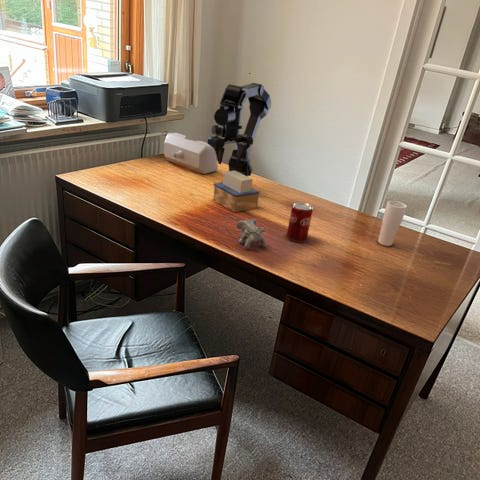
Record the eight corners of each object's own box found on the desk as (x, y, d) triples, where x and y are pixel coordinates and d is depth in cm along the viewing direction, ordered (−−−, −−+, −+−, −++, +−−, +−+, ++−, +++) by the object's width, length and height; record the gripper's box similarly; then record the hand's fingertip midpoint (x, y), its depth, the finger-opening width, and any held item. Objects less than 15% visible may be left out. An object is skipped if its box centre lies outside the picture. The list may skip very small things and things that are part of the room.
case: (222, 183, 187) (223, 171, 185) (233, 182, 191) (234, 170, 188) (240, 193, 181) (241, 180, 178) (251, 191, 184) (252, 179, 181)
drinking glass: (384, 248, 170) (396, 208, 161) (371, 240, 175) (383, 201, 166) (398, 246, 173) (411, 207, 164) (385, 238, 177) (397, 199, 169)
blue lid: (213, 185, 187) (213, 183, 187) (236, 181, 194) (236, 180, 193) (236, 197, 179) (236, 195, 178) (259, 193, 185) (259, 191, 185)
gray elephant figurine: (251, 253, 154) (254, 231, 150) (224, 239, 160) (226, 218, 156) (268, 245, 161) (272, 224, 156) (242, 233, 167) (245, 212, 162)
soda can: (308, 237, 170) (315, 205, 164) (304, 244, 165) (310, 211, 158) (289, 232, 172) (295, 200, 165) (284, 239, 166) (289, 206, 160)
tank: (155, 162, 222) (155, 134, 215) (179, 157, 233) (180, 130, 226) (194, 177, 210) (196, 148, 203) (218, 171, 221) (220, 144, 214)
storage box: (213, 200, 190) (214, 185, 187) (235, 196, 197) (237, 182, 194) (234, 212, 182) (236, 197, 179) (257, 207, 189) (259, 193, 185)
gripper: (238, 115, 191) (234, 155, 200) (200, 117, 181) (197, 159, 189) (256, 122, 185) (251, 163, 193) (218, 124, 174) (214, 167, 183)
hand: (228, 162), depth 190 cm, fingers open, 9 cm apart
